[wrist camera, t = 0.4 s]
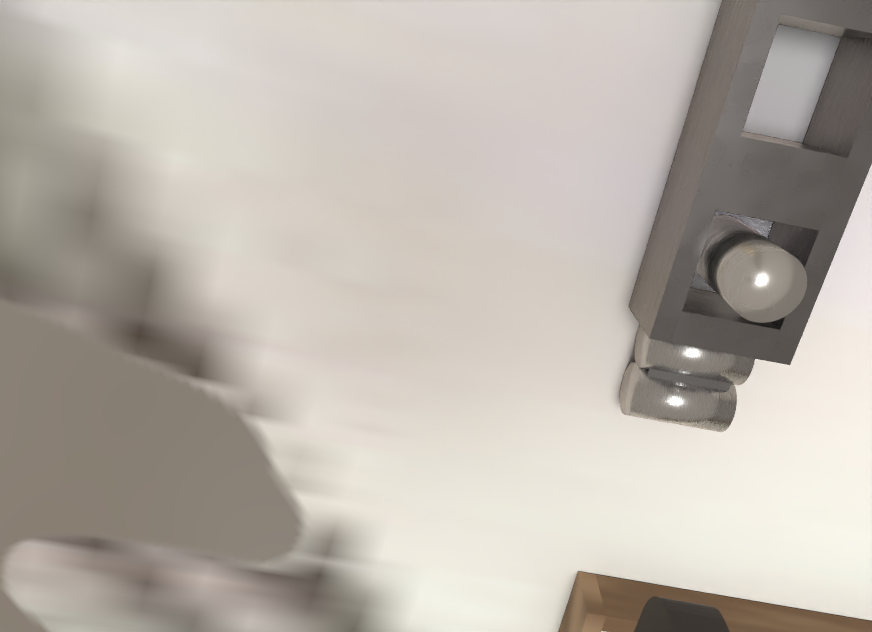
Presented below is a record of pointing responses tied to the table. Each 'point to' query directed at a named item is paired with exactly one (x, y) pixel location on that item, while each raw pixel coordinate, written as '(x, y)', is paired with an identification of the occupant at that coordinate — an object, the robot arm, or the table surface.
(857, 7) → the dark grey slotted block
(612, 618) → the magazine tray
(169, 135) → the table surface
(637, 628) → the robot arm
